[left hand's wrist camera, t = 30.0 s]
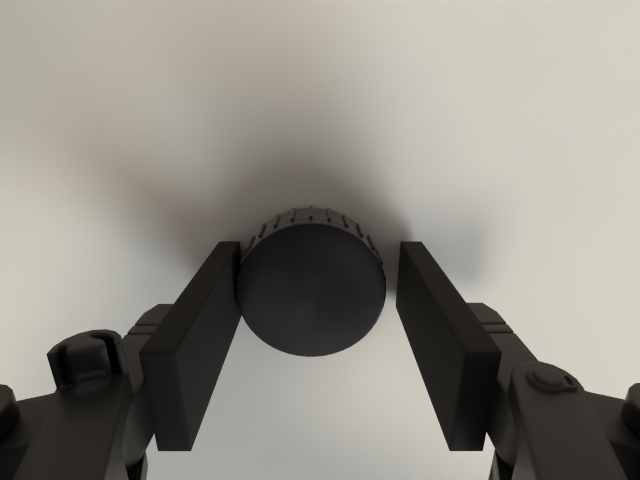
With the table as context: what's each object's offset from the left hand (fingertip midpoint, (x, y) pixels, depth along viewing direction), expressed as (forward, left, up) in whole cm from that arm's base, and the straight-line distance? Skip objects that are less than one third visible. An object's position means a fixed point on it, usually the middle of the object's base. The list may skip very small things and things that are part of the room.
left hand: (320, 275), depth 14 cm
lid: (0, 0, +1) cm, 1 cm away
